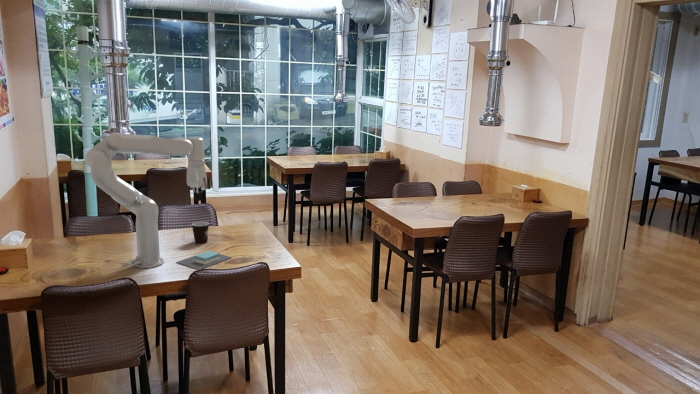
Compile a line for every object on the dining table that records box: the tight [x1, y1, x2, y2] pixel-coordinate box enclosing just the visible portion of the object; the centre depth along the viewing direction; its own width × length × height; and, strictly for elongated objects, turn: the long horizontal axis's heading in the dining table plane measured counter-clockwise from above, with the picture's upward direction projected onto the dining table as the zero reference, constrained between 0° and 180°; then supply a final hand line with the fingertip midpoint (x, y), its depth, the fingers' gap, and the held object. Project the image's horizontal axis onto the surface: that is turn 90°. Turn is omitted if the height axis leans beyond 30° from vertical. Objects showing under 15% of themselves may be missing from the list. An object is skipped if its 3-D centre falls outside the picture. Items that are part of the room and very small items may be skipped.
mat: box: [175, 253, 232, 271], centre depth 249 cm, size 20×16×1 cm
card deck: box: [194, 250, 220, 265], centre depth 248 cm, size 9×3×7 cm
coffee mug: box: [191, 221, 210, 245], centre depth 277 cm, size 12×9×10 cm
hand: (198, 200), depth 253 cm, fingers closed
